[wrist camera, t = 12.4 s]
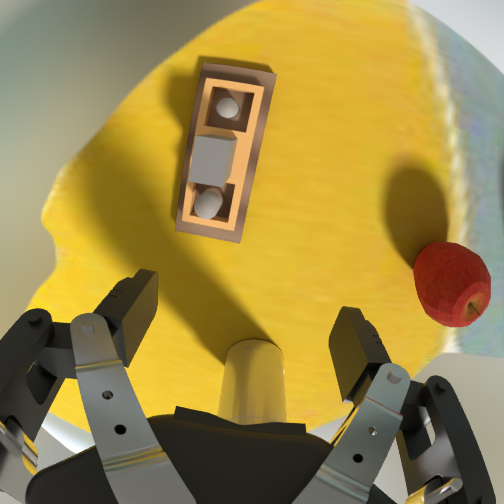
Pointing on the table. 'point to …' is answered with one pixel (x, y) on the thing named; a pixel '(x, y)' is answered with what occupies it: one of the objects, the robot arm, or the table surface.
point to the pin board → (233, 118)
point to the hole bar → (220, 154)
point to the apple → (452, 283)
